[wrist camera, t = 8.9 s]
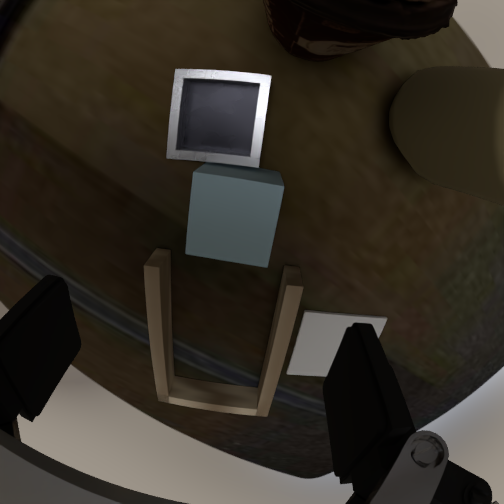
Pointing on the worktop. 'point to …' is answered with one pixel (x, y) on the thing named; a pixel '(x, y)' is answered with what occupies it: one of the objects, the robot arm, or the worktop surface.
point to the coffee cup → (351, 23)
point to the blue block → (233, 213)
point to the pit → (218, 116)
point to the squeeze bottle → (453, 128)
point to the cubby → (204, 391)
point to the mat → (323, 340)
